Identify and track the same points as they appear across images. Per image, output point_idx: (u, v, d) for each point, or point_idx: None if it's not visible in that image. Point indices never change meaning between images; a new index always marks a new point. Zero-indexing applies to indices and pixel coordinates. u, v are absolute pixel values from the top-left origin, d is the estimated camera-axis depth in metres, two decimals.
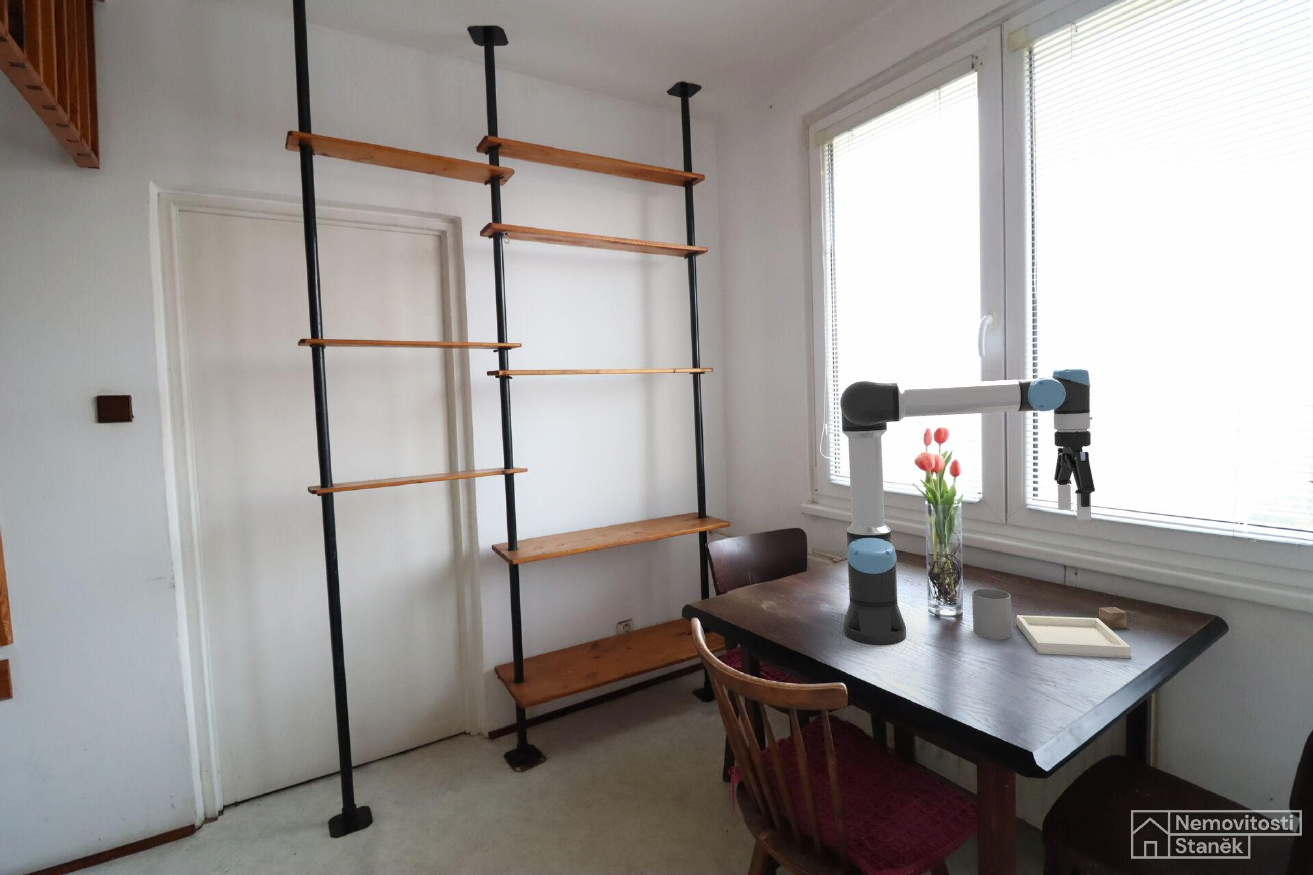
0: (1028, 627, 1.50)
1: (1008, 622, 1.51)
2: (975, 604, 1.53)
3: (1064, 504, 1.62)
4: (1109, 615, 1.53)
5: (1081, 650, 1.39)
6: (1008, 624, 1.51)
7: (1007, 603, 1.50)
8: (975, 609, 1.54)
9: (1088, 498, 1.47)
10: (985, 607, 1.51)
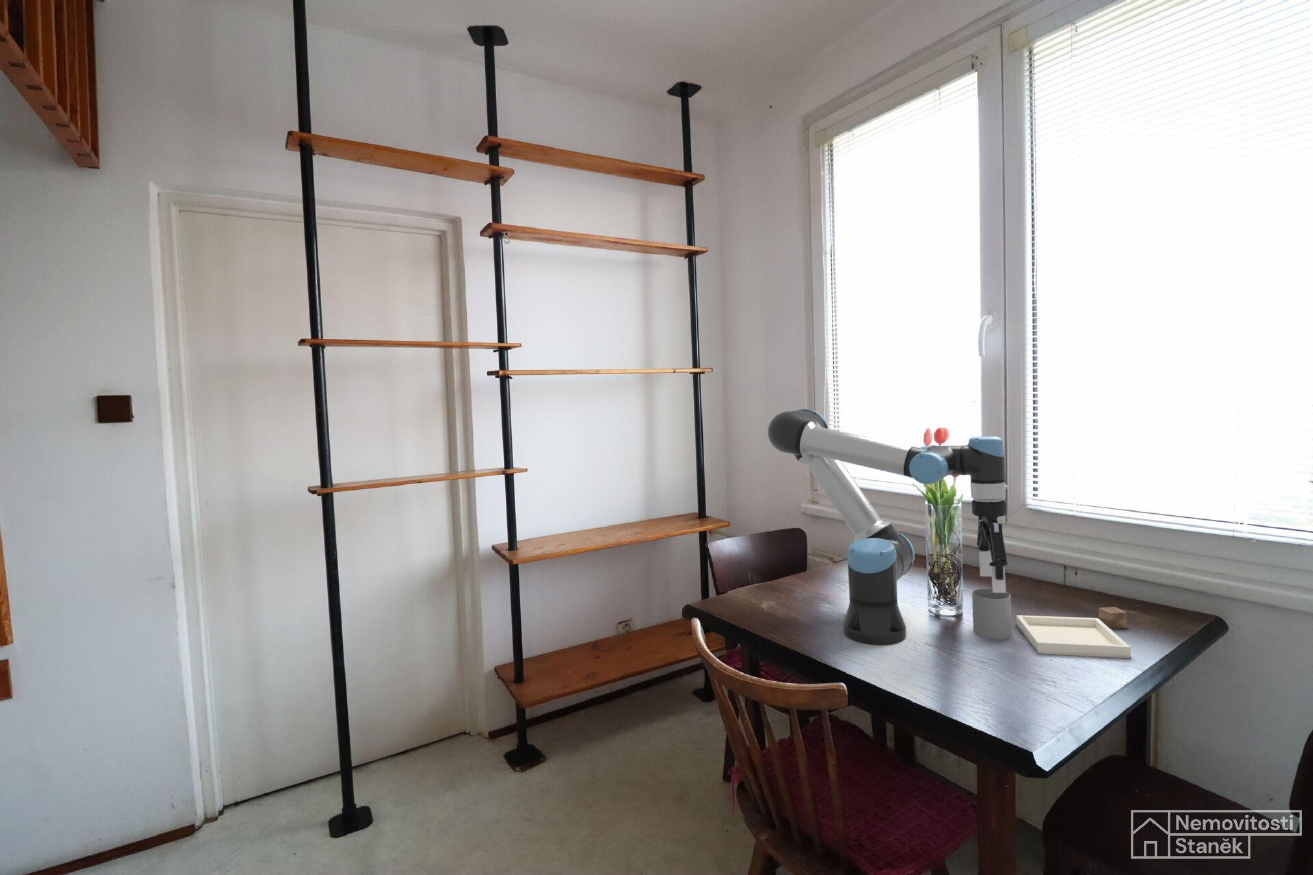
0: (1028, 627, 1.50)
1: (1008, 622, 1.51)
2: (975, 604, 1.54)
3: (986, 571, 1.59)
4: (1109, 615, 1.53)
5: (1081, 650, 1.39)
6: (1008, 624, 1.51)
7: (1007, 603, 1.50)
8: (975, 609, 1.54)
9: (1002, 571, 1.45)
10: (985, 607, 1.51)
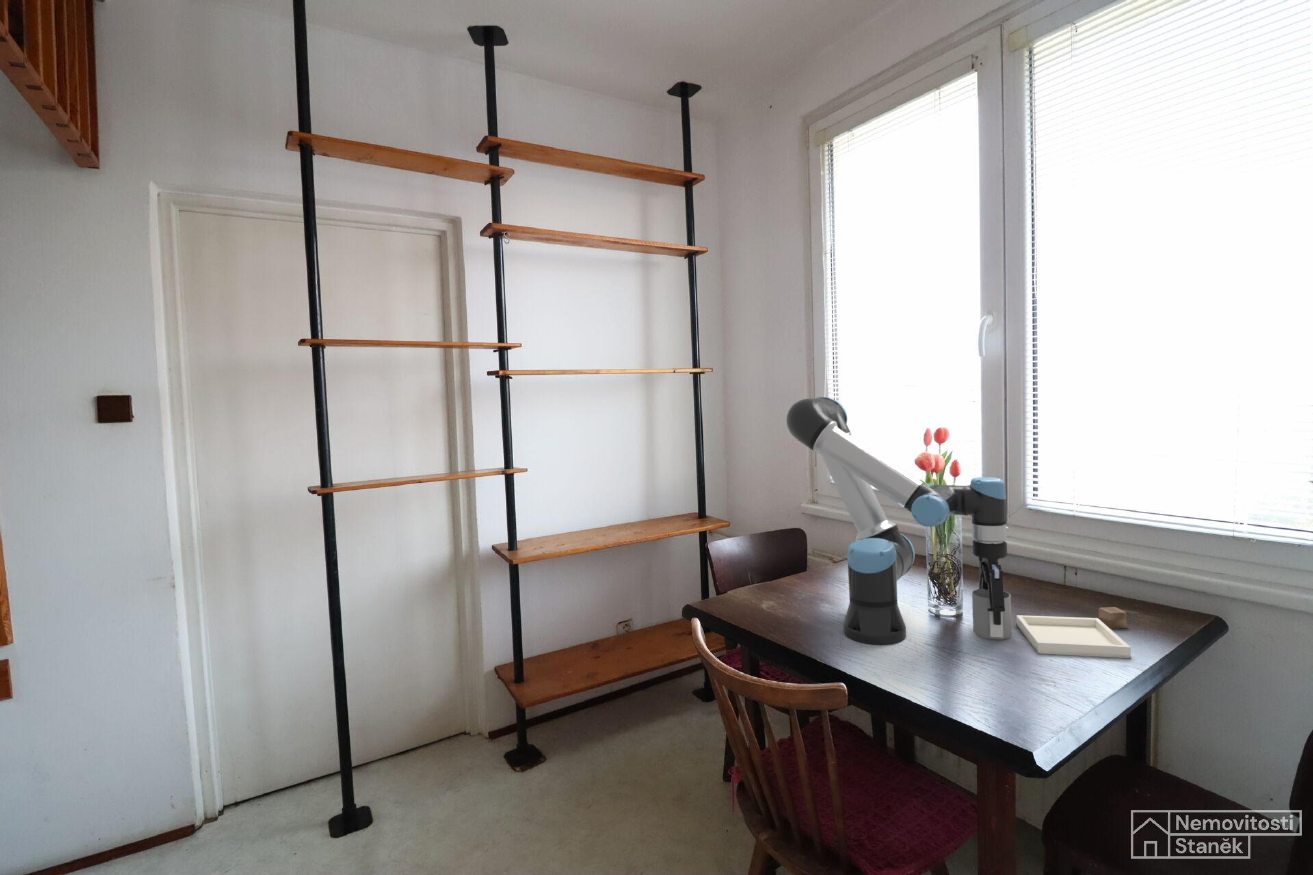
0: (1028, 627, 1.50)
1: (1008, 622, 1.51)
2: (975, 604, 1.53)
3: None
4: (1109, 615, 1.53)
5: (1081, 650, 1.39)
6: (1008, 624, 1.51)
7: (1007, 603, 1.50)
8: (975, 609, 1.54)
9: (999, 616, 1.48)
10: (985, 607, 1.51)
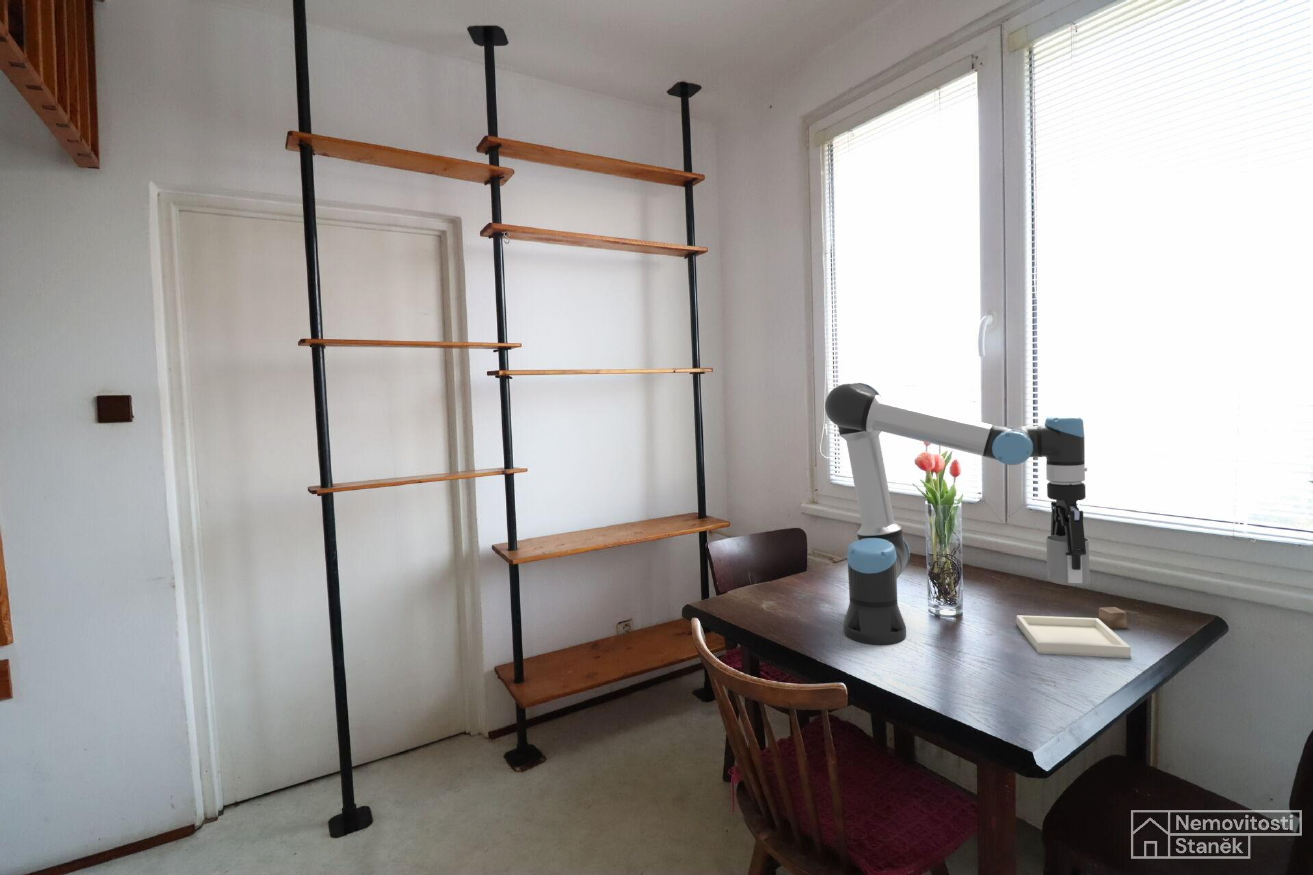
0: (1028, 627, 1.50)
1: (1087, 567, 1.43)
2: (1051, 549, 1.46)
3: None
4: (1109, 615, 1.53)
5: (1081, 650, 1.39)
6: (1087, 569, 1.43)
7: (1086, 547, 1.43)
8: (1050, 555, 1.46)
9: (1079, 561, 1.40)
10: (1062, 551, 1.43)
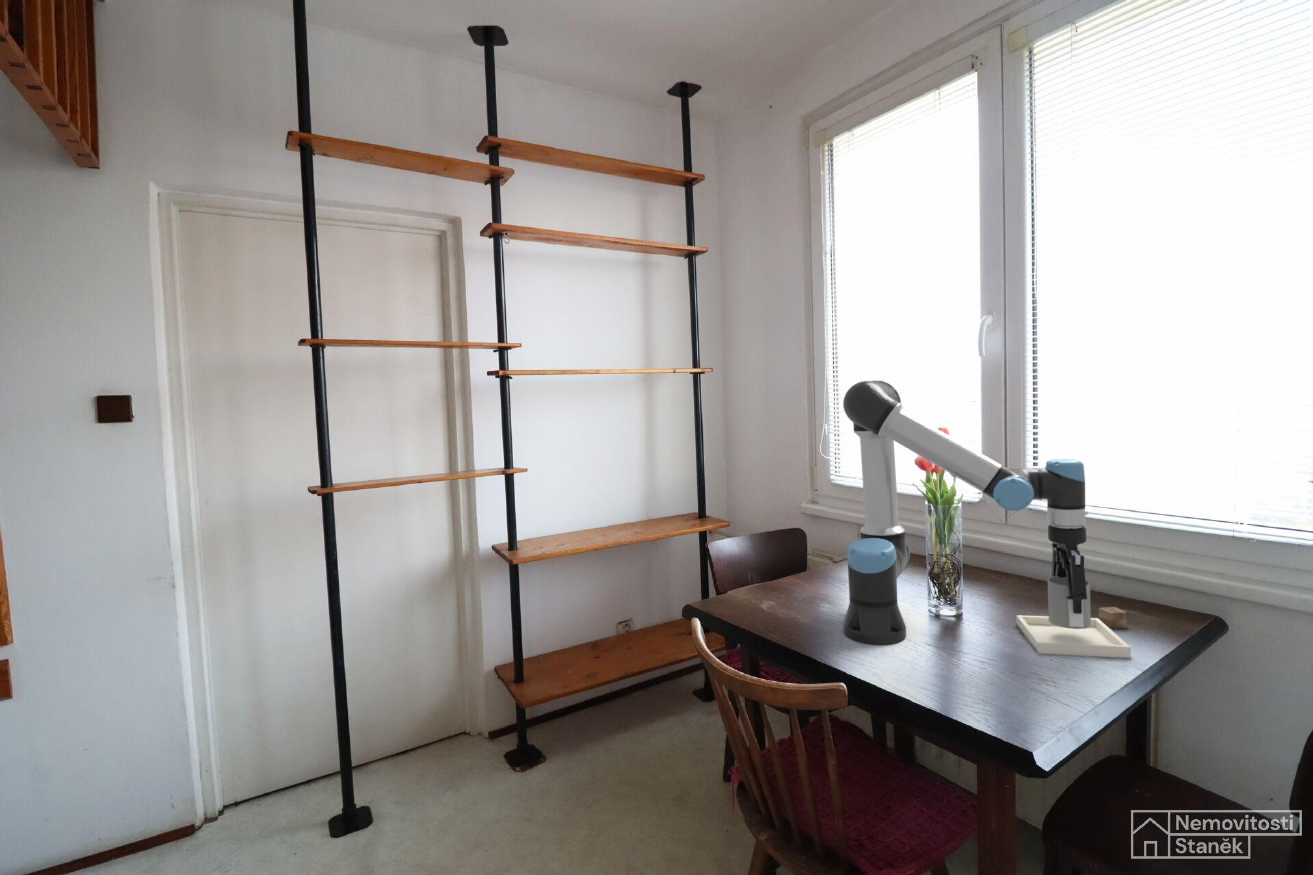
0: (1028, 627, 1.50)
1: (1088, 610, 1.43)
2: (1052, 592, 1.46)
3: None
4: (1109, 615, 1.53)
5: (1081, 650, 1.39)
6: (1088, 613, 1.43)
7: (1087, 591, 1.43)
8: (1052, 597, 1.46)
9: (1080, 605, 1.41)
10: (1063, 595, 1.44)
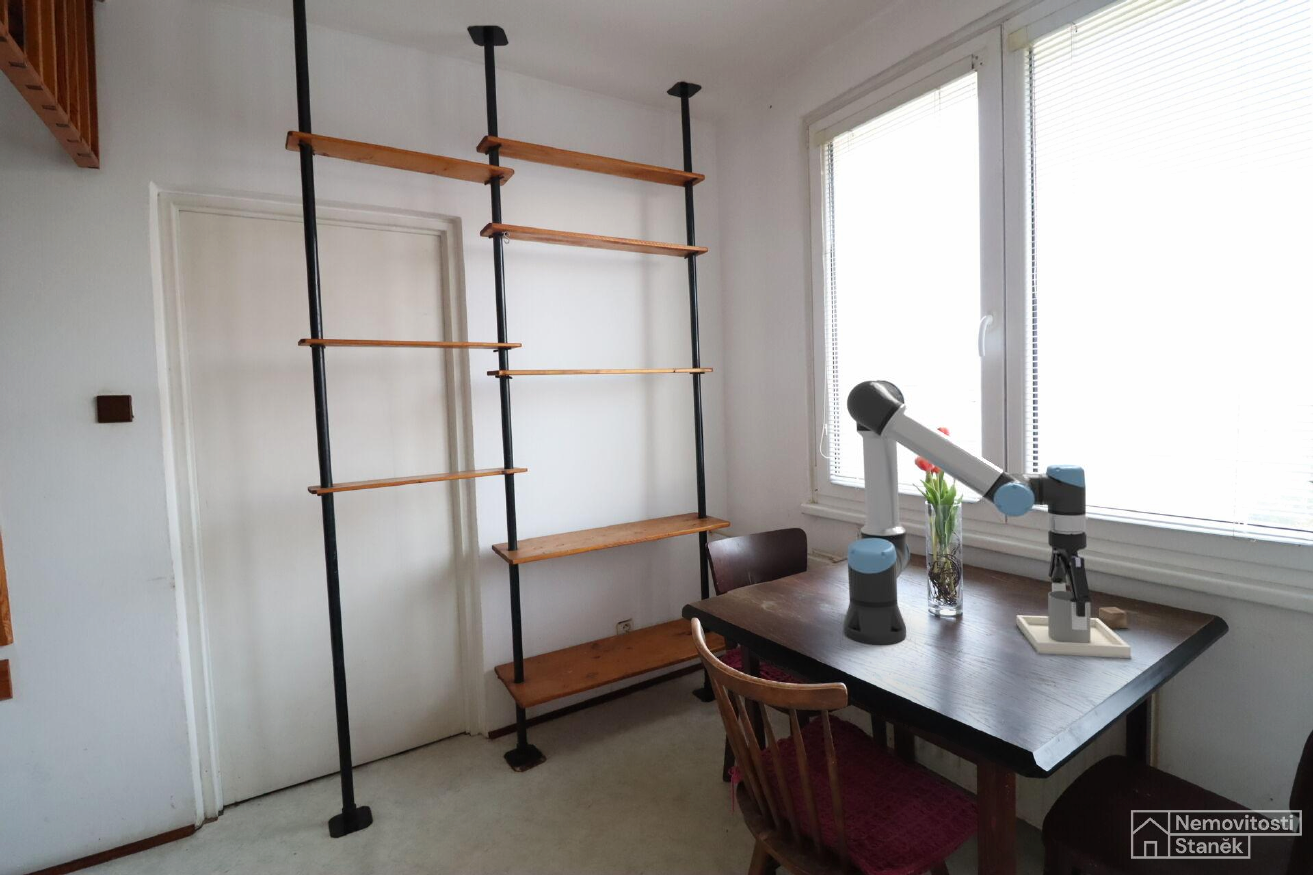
0: (1028, 627, 1.50)
1: (1088, 626, 1.43)
2: (1052, 607, 1.46)
3: None
4: (1109, 615, 1.53)
5: (1081, 650, 1.39)
6: (1088, 628, 1.44)
7: (1088, 606, 1.43)
8: (1052, 612, 1.47)
9: (1084, 608, 1.39)
10: (1064, 610, 1.44)
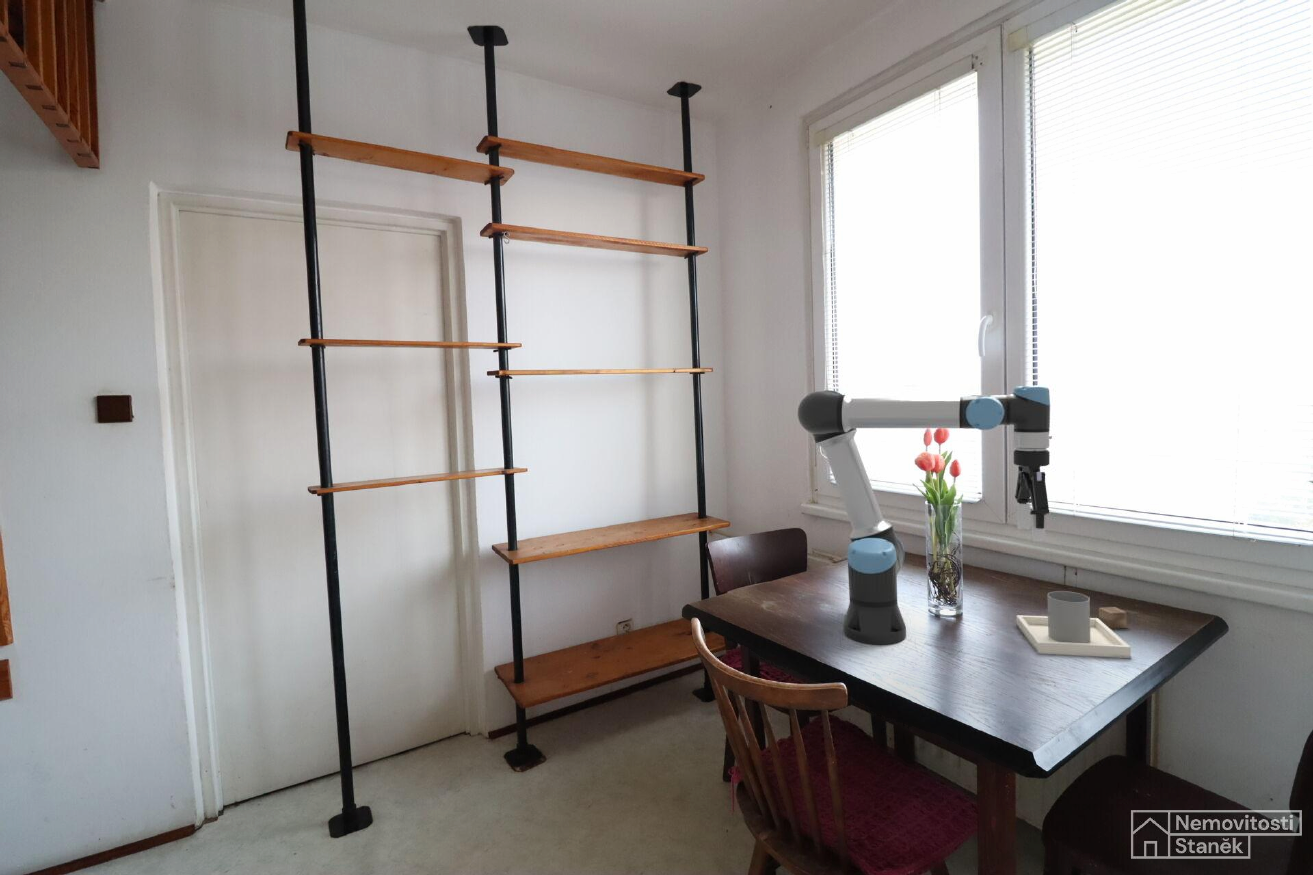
0: (1028, 627, 1.50)
1: (1088, 626, 1.43)
2: (1052, 607, 1.46)
3: (1023, 524, 1.58)
4: (1109, 615, 1.53)
5: (1081, 650, 1.39)
6: (1088, 628, 1.43)
7: (1087, 607, 1.43)
8: (1051, 613, 1.47)
9: (1043, 520, 1.44)
10: (1063, 610, 1.44)
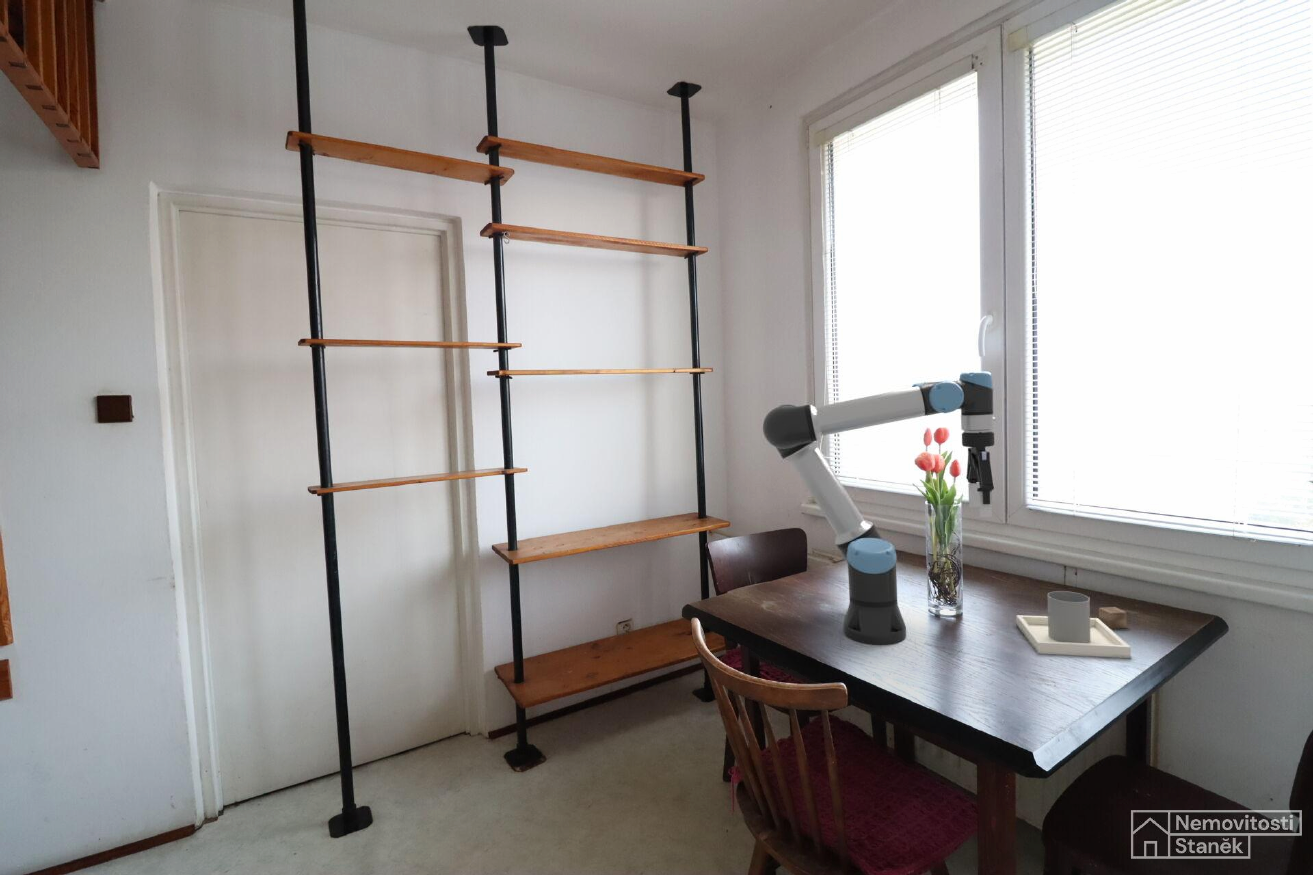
0: (1028, 627, 1.50)
1: (1088, 626, 1.43)
2: (1052, 607, 1.46)
3: (974, 502, 1.68)
4: (1109, 615, 1.53)
5: (1081, 650, 1.39)
6: (1088, 628, 1.43)
7: (1087, 607, 1.43)
8: (1051, 613, 1.47)
9: (988, 496, 1.54)
10: (1063, 610, 1.44)
